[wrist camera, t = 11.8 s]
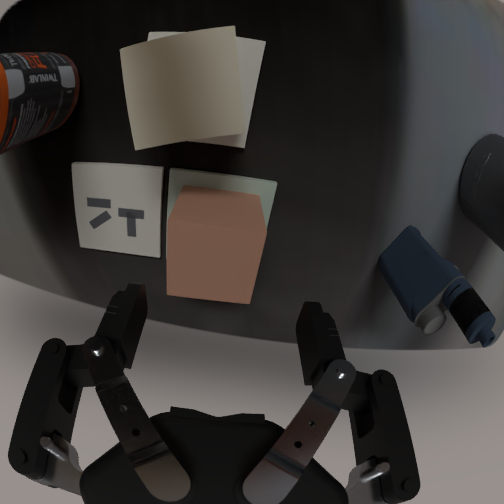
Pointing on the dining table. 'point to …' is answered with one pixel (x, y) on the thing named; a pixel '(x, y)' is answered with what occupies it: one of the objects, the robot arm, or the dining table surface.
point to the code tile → (118, 207)
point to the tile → (248, 72)
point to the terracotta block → (214, 244)
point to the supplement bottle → (35, 95)
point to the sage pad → (220, 187)
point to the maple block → (183, 87)
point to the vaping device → (433, 288)
